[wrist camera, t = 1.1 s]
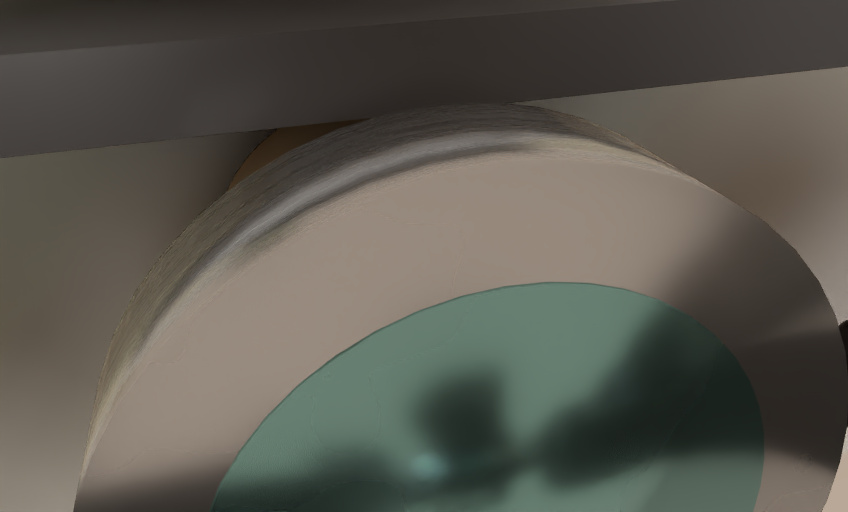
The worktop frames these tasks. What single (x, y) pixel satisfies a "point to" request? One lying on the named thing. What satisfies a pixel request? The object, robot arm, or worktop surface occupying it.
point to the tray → (365, 58)
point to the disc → (471, 336)
